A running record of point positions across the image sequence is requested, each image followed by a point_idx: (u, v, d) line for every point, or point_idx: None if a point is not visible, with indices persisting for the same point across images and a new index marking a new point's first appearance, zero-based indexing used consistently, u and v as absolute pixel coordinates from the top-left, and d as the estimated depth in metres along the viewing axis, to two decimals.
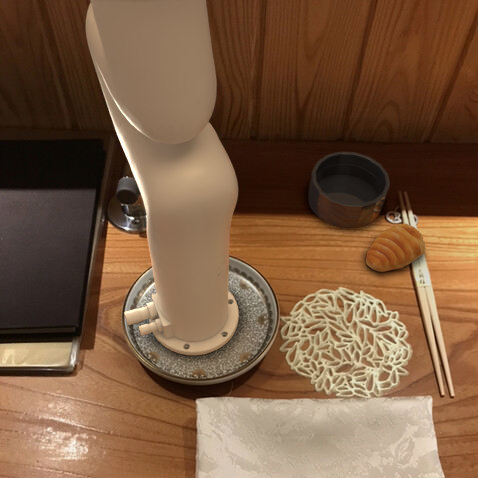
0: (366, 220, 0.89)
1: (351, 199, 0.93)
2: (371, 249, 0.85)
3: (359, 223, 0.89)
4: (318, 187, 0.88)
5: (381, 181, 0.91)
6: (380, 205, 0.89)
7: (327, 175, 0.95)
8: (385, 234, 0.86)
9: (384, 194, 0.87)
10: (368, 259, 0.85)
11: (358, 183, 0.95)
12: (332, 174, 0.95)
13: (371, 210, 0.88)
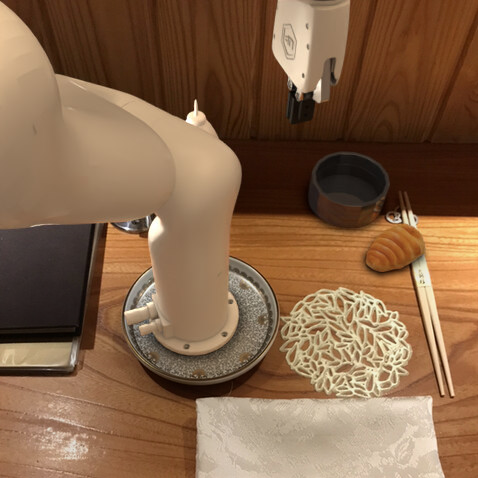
0: (366, 220, 0.89)
1: (351, 199, 0.93)
2: (371, 249, 0.85)
3: (359, 223, 0.89)
4: (318, 187, 0.88)
5: (381, 181, 0.91)
6: (380, 205, 0.89)
7: (327, 175, 0.95)
8: (385, 234, 0.86)
9: (384, 194, 0.87)
10: (368, 259, 0.85)
11: (358, 183, 0.95)
12: (332, 174, 0.95)
13: (371, 210, 0.88)
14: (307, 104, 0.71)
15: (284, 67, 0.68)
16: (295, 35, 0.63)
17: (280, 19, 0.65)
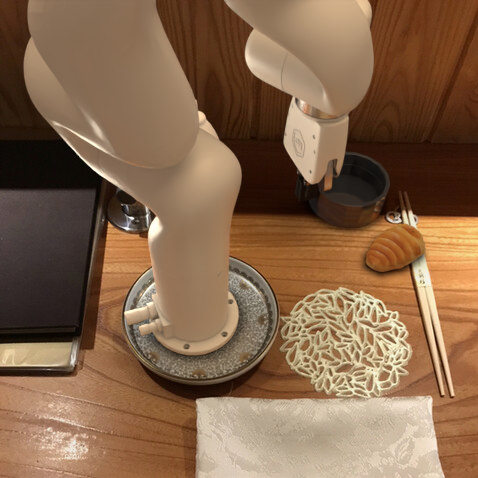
0: (366, 220, 0.89)
1: (351, 199, 0.93)
2: (371, 249, 0.85)
3: (359, 223, 0.89)
4: None
5: (381, 181, 0.91)
6: (380, 205, 0.89)
7: None
8: (385, 234, 0.86)
9: (384, 194, 0.87)
10: (368, 259, 0.85)
11: (358, 183, 0.95)
12: None
13: (371, 210, 0.88)
14: (313, 187, 0.85)
15: (294, 160, 0.82)
16: (304, 140, 0.77)
17: (291, 124, 0.79)
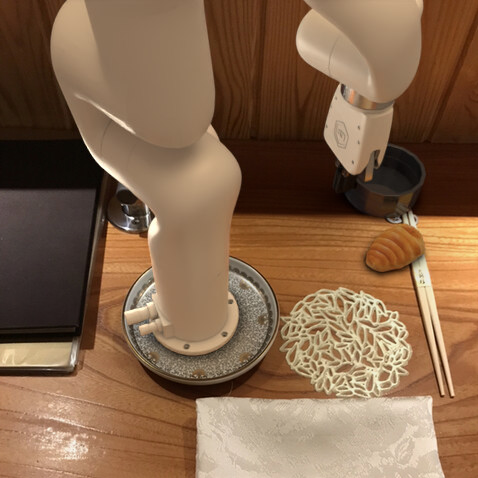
0: (402, 210, 0.91)
1: (386, 189, 0.94)
2: (371, 249, 0.85)
3: (395, 213, 0.91)
4: None
5: (416, 171, 0.93)
6: (416, 195, 0.90)
7: None
8: (385, 234, 0.86)
9: (421, 184, 0.89)
10: (368, 259, 0.85)
11: (392, 174, 0.96)
12: None
13: (408, 200, 0.89)
14: (351, 179, 0.87)
15: (335, 152, 0.83)
16: (347, 131, 0.78)
17: (333, 116, 0.81)
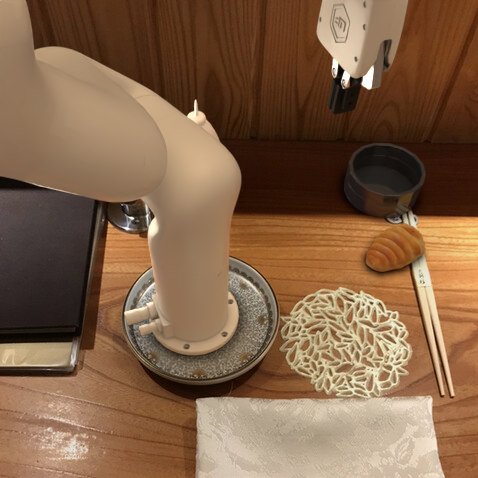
0: (402, 210, 0.91)
1: (386, 189, 0.94)
2: (371, 249, 0.85)
3: (395, 213, 0.91)
4: (356, 177, 0.89)
5: (416, 171, 0.93)
6: (416, 195, 0.90)
7: (361, 166, 0.97)
8: (385, 234, 0.86)
9: (421, 184, 0.89)
10: (368, 259, 0.85)
11: (392, 174, 0.96)
12: (366, 165, 0.97)
13: (408, 200, 0.89)
14: (352, 92, 0.67)
15: (331, 52, 0.64)
16: (349, 15, 0.59)
17: (330, 0, 0.61)
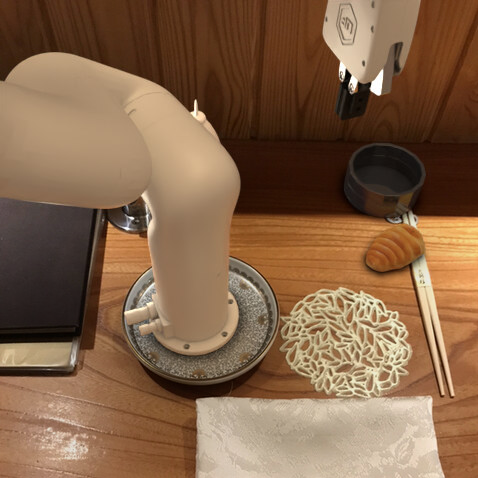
0: (402, 210, 0.91)
1: (386, 189, 0.94)
2: (371, 249, 0.85)
3: (395, 213, 0.91)
4: (356, 177, 0.89)
5: (416, 171, 0.93)
6: (416, 195, 0.90)
7: (361, 166, 0.97)
8: (385, 234, 0.86)
9: (421, 184, 0.89)
10: (368, 259, 0.85)
11: (392, 174, 0.96)
12: (366, 165, 0.97)
13: (408, 200, 0.89)
14: (361, 97, 0.63)
15: (338, 54, 0.59)
16: (356, 16, 0.54)
17: None
